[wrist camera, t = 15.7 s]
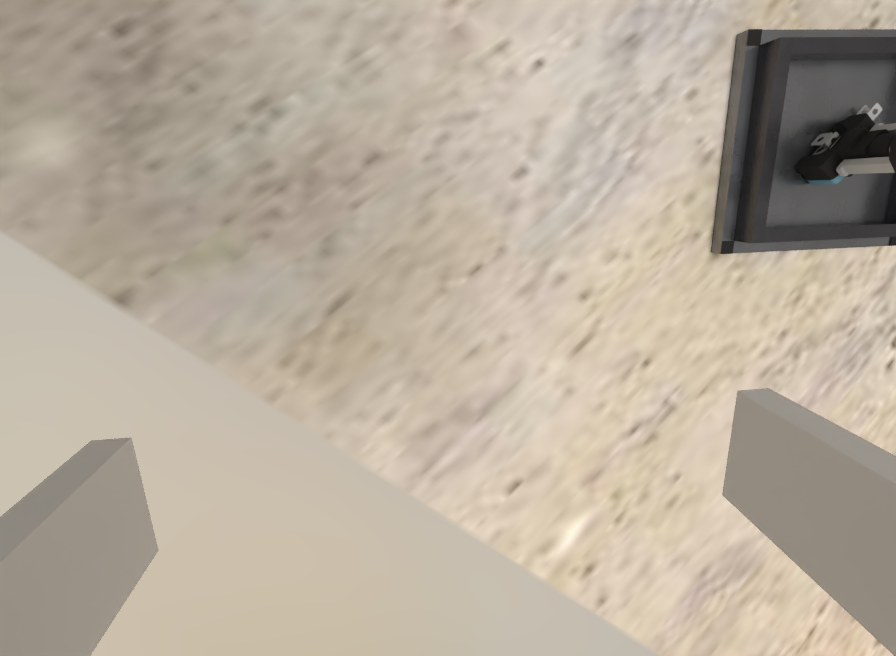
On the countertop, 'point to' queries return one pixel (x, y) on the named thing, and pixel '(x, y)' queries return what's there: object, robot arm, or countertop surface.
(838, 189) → the grey metal square tray
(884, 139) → the push button
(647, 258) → the countertop surface
